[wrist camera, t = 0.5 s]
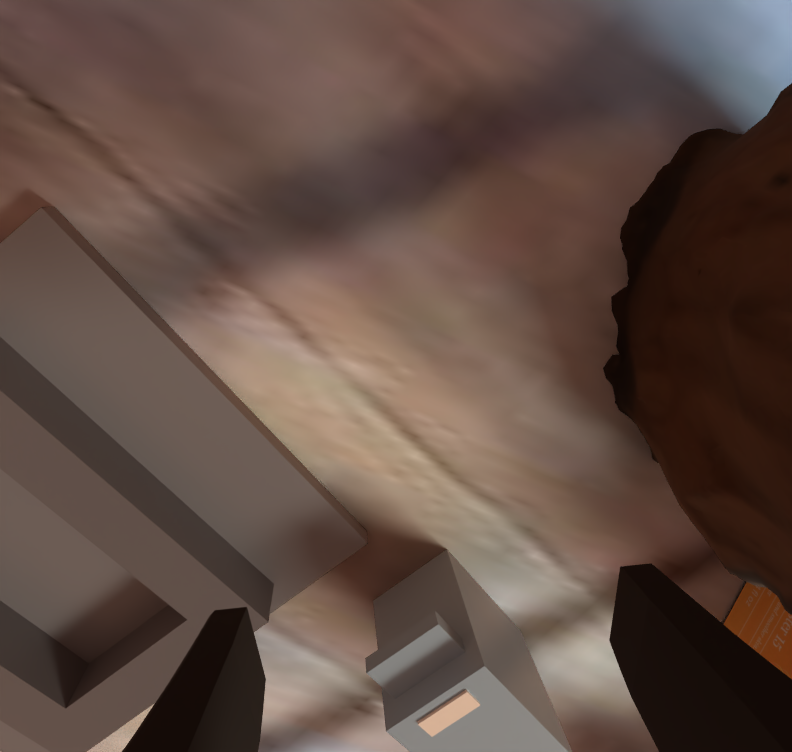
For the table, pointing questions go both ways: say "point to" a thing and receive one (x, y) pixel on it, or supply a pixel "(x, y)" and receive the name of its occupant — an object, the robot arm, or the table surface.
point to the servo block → (457, 669)
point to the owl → (717, 339)
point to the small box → (763, 625)
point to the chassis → (126, 498)
